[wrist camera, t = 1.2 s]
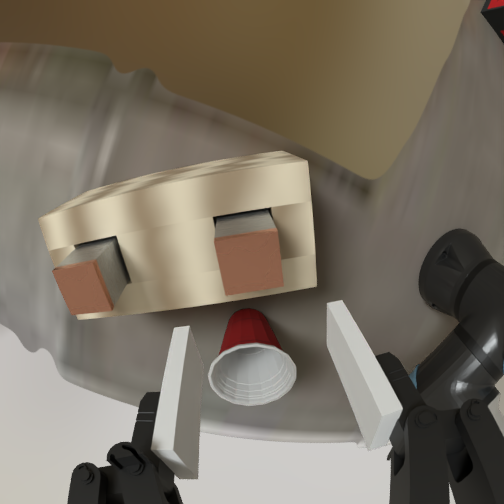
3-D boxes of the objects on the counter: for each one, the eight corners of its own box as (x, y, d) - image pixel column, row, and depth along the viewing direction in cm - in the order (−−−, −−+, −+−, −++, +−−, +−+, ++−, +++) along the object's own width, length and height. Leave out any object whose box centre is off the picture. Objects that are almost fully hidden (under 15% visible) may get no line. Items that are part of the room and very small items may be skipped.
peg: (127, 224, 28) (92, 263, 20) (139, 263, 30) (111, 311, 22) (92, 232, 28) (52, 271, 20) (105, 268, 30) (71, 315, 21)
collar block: (282, 150, 34) (307, 161, 23) (292, 241, 39) (316, 286, 28) (86, 191, 34) (38, 218, 23) (111, 271, 39) (78, 319, 28)
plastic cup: (272, 282, 41) (286, 337, 30) (289, 337, 46) (304, 393, 35) (200, 304, 42) (193, 362, 31) (225, 354, 46) (226, 412, 35)
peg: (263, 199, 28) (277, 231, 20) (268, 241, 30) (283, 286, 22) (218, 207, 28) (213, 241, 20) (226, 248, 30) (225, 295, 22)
